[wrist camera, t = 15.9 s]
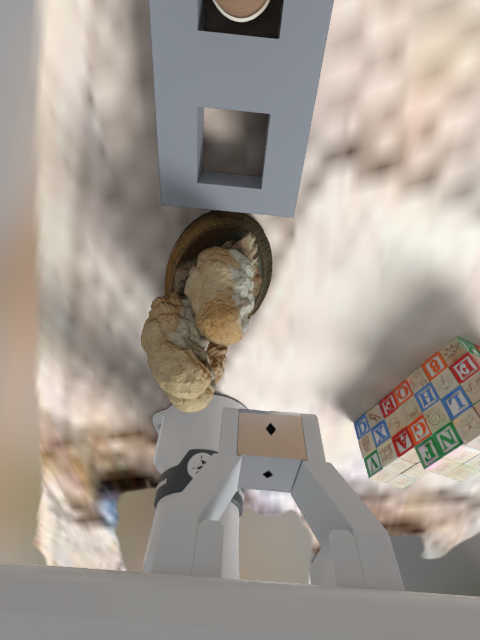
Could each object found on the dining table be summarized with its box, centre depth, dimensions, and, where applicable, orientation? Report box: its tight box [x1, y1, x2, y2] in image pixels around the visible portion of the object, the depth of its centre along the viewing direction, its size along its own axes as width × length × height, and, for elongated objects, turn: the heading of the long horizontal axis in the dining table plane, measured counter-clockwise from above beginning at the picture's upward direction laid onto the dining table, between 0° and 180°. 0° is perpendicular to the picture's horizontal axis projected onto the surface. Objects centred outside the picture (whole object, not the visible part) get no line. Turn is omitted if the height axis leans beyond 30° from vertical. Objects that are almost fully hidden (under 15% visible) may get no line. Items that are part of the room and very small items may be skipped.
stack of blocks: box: [354, 337, 480, 488], centre depth 45 cm, size 21×6×12 cm, turn 154°
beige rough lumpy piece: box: [141, 210, 272, 413], centre depth 33 cm, size 18×12×17 cm, turn 164°
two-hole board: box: [149, 0, 334, 218], centre depth 26 cm, size 20×12×4 cm, turn 175°
